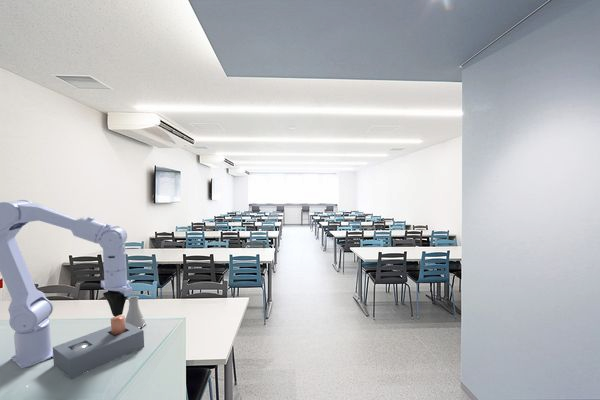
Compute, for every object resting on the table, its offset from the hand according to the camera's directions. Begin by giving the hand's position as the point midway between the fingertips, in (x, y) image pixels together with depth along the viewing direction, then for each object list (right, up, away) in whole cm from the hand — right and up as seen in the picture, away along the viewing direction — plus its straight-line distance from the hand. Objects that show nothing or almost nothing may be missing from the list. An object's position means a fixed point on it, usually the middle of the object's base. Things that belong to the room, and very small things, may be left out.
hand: (117, 315), depth 96 cm
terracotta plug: (0, -5, 0) cm, 5 cm away
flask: (-2, -9, +15) cm, 17 cm away
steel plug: (-6, -10, -8) cm, 14 cm away
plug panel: (-3, -10, -3) cm, 11 cm away
